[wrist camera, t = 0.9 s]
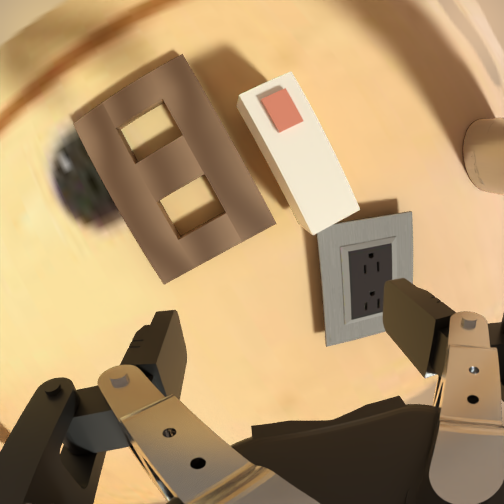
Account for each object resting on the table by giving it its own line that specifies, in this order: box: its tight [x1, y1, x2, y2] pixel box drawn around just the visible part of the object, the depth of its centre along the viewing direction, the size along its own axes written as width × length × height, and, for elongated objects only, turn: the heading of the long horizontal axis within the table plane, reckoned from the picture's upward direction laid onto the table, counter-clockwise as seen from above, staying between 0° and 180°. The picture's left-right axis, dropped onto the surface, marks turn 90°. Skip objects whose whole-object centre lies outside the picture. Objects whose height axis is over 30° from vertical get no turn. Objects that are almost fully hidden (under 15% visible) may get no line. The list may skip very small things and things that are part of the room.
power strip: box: [236, 72, 360, 235], centre depth 26 cm, size 4×12×7 cm, turn 28°
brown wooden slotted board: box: [73, 54, 276, 284], centre depth 28 cm, size 12×18×2 cm, turn 28°
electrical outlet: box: [317, 211, 413, 347], centre depth 32 cm, size 13×10×2 cm
